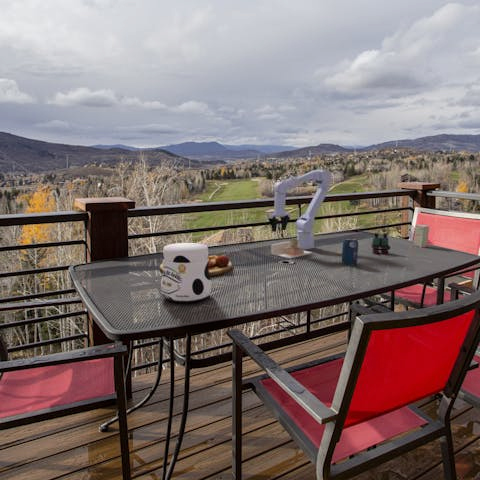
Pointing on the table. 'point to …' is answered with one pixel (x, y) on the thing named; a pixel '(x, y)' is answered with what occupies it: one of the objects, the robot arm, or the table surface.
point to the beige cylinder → (294, 244)
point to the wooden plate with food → (216, 265)
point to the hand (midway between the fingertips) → (278, 230)
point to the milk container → (185, 272)
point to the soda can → (350, 251)
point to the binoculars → (380, 244)
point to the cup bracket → (287, 250)
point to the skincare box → (421, 235)
